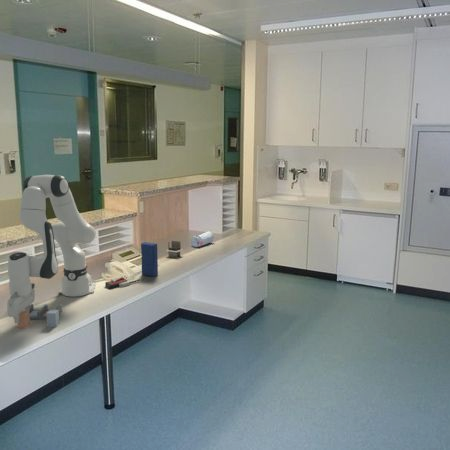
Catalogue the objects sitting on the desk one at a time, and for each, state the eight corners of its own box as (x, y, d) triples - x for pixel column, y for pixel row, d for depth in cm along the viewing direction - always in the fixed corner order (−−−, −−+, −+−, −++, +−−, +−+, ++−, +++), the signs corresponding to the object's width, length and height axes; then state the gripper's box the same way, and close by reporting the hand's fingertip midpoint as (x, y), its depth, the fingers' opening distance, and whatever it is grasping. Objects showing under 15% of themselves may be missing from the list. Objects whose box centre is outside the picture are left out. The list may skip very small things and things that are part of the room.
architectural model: (191, 255, 330) (191, 240, 328) (180, 261, 315) (180, 245, 312) (168, 252, 337) (168, 238, 334) (157, 258, 321) (156, 243, 319)
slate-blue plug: (50, 323, 211) (49, 309, 210) (59, 323, 211) (58, 310, 210) (47, 326, 207) (46, 313, 206) (56, 326, 207) (55, 313, 206)
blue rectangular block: (158, 274, 284) (158, 243, 280) (153, 277, 279) (153, 245, 275) (146, 272, 288) (145, 241, 284) (141, 274, 283) (140, 243, 279)
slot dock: (31, 311, 224) (31, 304, 224) (62, 311, 225) (61, 304, 224) (22, 319, 215) (22, 312, 214) (54, 319, 215) (54, 312, 214)
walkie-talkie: (111, 291, 255) (140, 282, 270) (111, 283, 254) (140, 275, 269) (102, 287, 261) (131, 279, 276) (102, 280, 260) (131, 272, 275)
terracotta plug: (21, 323, 210) (20, 310, 208) (30, 323, 210) (29, 310, 208) (17, 327, 206) (16, 313, 205) (26, 327, 206) (25, 314, 205)
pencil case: (198, 248, 349) (198, 236, 347) (189, 246, 354) (189, 234, 352) (214, 243, 366) (214, 231, 364) (205, 241, 371) (206, 230, 369)
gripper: (16, 297, 194) (19, 328, 197) (36, 282, 214) (38, 310, 217) (2, 297, 194) (4, 327, 197) (23, 282, 214) (25, 310, 217)
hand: (22, 318), depth 207 cm, fingers open, 8 cm apart
